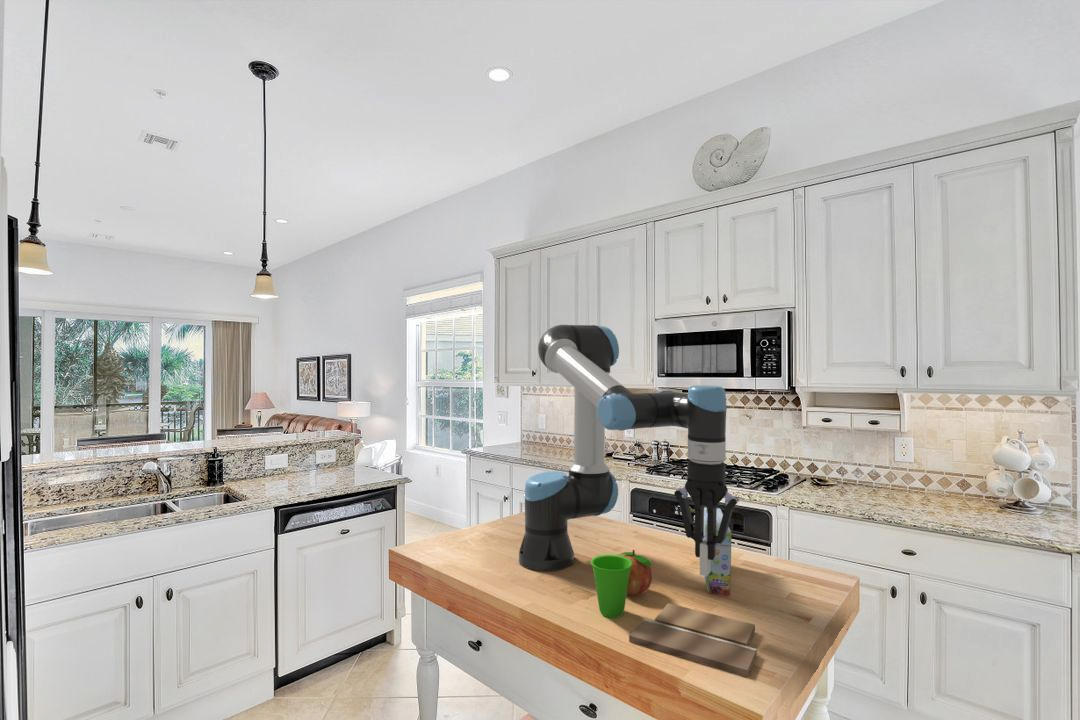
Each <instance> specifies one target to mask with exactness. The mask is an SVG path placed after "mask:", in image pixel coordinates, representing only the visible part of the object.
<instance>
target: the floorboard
mask: <svg viewBox="0 0 1080 720" xmlns="http://www.w3.org/2000/svg"><path fill="white" fill-rule="evenodd" d="M628 642H630V643H633V644H635V645H636V644H637V645H639V646H642V647H646V648H648V649H653V650H656V651H659V652H662V653H665V654H666V653H667V654H669V655H673V656H676V657H679V658H682V659H687V660H689V661H692V662H695V663H699V664H702V665H706V666H710V667H712V668H716V669H719V670H722V671H726V672H729V673H733V674H736V675H739V676H743V677H746V678H749V675H750V673H751V670H752V668H753V666H754V663H755V661H756V658H757V656H758V650H757V648H754V647H752V646H749V645H748V646H744V645H740V644H737V643H733V642H729V641H726V640H722V639H718V638H715V637H711V636H707V635H704V634H700V633H696V632H693V631H689V630H685V629H681V628H678V627H674V626H670V625H667V624H663V623H659V622H656V621H655V620H652V619H647V618H643V619H642V621H641V622H640V623H639V624H638V625H637V626H636V627H635V629H633V631H632V632H631V633H629V635H628Z"/></svg>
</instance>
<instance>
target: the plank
mask: <svg viewBox="0 0 1080 720" xmlns="http://www.w3.org/2000/svg"><path fill="white" fill-rule="evenodd" d="M654 621H656V622H659V623H663V624H667V625H670V626H674V627H678V628H681V629H685V630H689V631H693V632H696V633H700V634H704V635H707V636H711V637H715V638H718V639H722V640H726V641H729V642H733V643H737V644H740V645H744V646H748V647H749V645H750V643H751V641H752V638H753V637H754V634H755V632H756V624H754V623H749V622H745V621H741V620H737V619H734V618H729V617H725V616H722V615H717V614H713V613H710V612H705V611H702V610H698V609H694V608H689V607H686V606H682V605H677V604H673V603H670V602H668V603H667V604H666V605H665V606H664V607H663V609H662V610H661V611H660V612H659V614H657V616H656V617H655V618H654Z"/></svg>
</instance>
